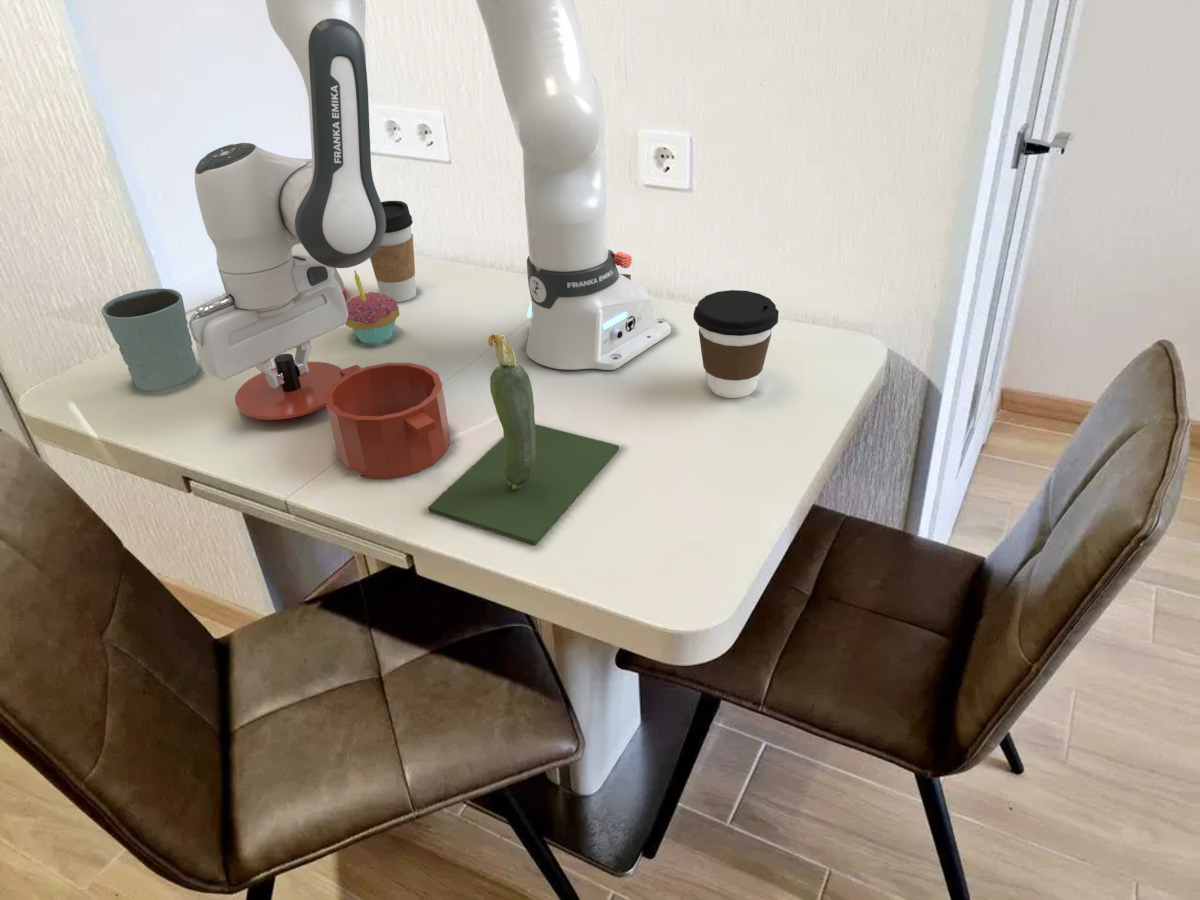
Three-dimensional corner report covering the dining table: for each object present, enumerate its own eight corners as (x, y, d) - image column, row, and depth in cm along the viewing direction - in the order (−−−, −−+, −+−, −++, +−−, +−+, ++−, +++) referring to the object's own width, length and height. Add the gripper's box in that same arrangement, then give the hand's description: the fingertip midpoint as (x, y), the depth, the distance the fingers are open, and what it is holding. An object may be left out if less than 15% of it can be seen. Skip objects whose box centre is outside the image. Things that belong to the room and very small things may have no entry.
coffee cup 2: (780, 374, 121) (788, 294, 114) (762, 413, 113) (769, 329, 106) (704, 362, 125) (707, 283, 118) (681, 400, 116) (682, 317, 110)
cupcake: (390, 353, 131) (375, 277, 124) (337, 350, 132) (320, 275, 126) (411, 328, 138) (399, 255, 131) (361, 325, 139) (346, 253, 133)
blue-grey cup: (117, 396, 123) (86, 318, 116) (150, 362, 131) (123, 287, 124) (188, 395, 122) (161, 317, 116) (216, 361, 131) (193, 286, 124)
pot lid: (319, 358, 126) (309, 322, 123) (368, 393, 117) (360, 356, 114) (220, 395, 119) (207, 359, 116) (264, 436, 109) (252, 398, 106)
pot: (404, 399, 119) (394, 345, 115) (483, 456, 107) (475, 398, 102) (311, 437, 112) (296, 381, 107) (384, 503, 100) (371, 442, 95)
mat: (521, 424, 113) (521, 420, 113) (619, 449, 107) (619, 445, 107) (428, 511, 98) (427, 507, 98) (535, 545, 93) (535, 541, 92)
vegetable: (542, 477, 102) (527, 321, 91) (541, 500, 98) (526, 340, 87) (503, 479, 102) (485, 323, 91) (501, 502, 98) (482, 342, 87)
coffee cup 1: (434, 290, 149) (421, 204, 141) (400, 309, 144) (384, 220, 135) (397, 281, 153) (382, 197, 145) (363, 299, 147) (345, 212, 139)
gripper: (199, 319, 101) (233, 421, 108) (343, 260, 113) (364, 355, 121) (170, 306, 104) (206, 406, 112) (313, 251, 117) (336, 344, 125)
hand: (289, 379), depth 117 cm, fingers closed on pot lid, 2 cm apart
